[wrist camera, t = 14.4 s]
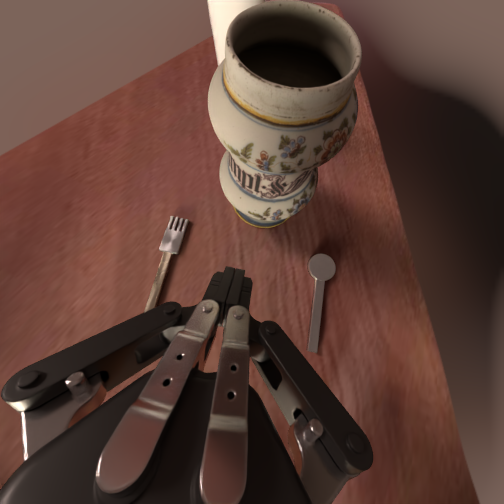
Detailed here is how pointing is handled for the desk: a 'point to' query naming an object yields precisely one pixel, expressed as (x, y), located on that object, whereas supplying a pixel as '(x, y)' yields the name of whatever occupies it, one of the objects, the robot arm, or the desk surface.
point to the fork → (167, 257)
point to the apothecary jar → (282, 105)
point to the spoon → (318, 294)
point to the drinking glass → (225, 20)
